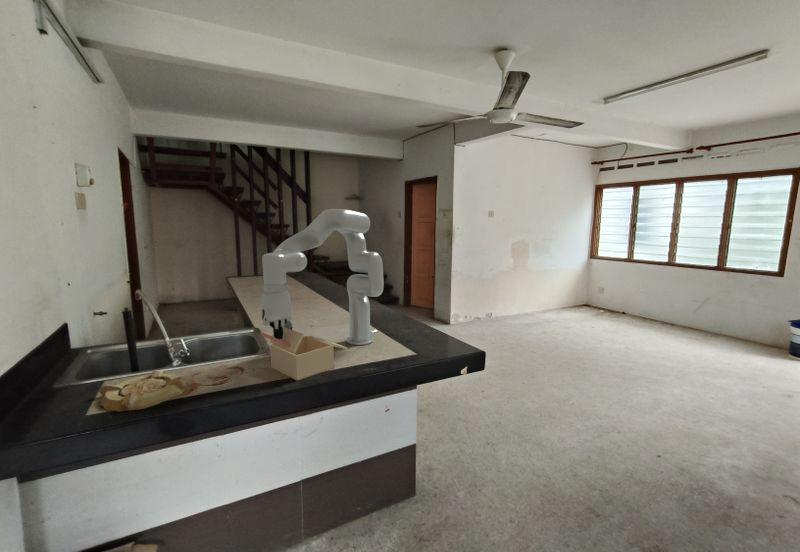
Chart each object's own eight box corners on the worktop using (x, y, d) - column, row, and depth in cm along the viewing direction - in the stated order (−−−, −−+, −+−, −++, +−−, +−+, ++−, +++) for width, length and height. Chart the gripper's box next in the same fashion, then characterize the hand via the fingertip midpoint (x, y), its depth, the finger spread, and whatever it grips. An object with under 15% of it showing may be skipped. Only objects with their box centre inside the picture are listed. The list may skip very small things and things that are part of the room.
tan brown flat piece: (185, 374, 137) (184, 361, 137) (189, 399, 117) (188, 384, 117) (103, 389, 125) (101, 375, 124) (92, 420, 105) (90, 403, 104)
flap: (279, 325, 144) (263, 317, 138) (304, 334, 133) (287, 326, 127) (270, 343, 142) (253, 335, 136) (294, 353, 130) (277, 345, 125)
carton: (307, 356, 155) (306, 335, 154) (333, 368, 143) (333, 345, 142) (271, 367, 143) (270, 344, 142) (297, 380, 131) (296, 355, 130)
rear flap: (347, 347, 148) (346, 349, 148) (322, 338, 159) (321, 340, 159) (333, 344, 143) (333, 346, 143) (308, 335, 154) (308, 337, 154)
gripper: (288, 284, 140) (291, 331, 143) (250, 290, 129) (253, 341, 132) (300, 286, 135) (302, 335, 138) (260, 293, 124) (264, 346, 127)
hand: (278, 338), depth 135 cm, fingers closed
